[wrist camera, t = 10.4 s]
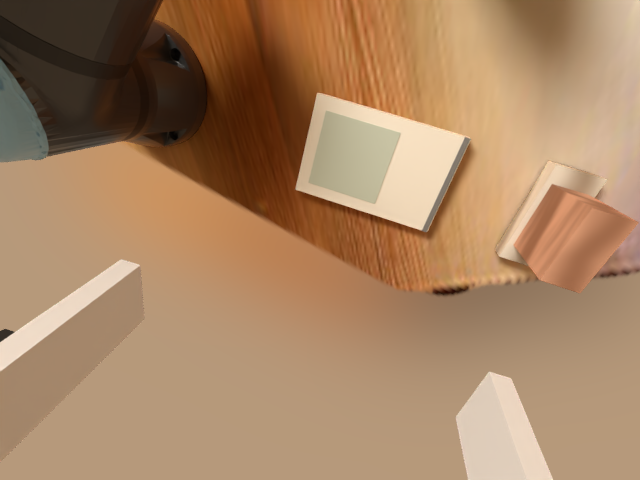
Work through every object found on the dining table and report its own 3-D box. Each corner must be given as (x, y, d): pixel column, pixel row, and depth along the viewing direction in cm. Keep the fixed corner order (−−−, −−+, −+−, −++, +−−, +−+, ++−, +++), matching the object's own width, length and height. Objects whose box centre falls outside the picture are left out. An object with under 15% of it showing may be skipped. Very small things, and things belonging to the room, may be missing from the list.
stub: (494, 249, 41) (521, 293, 32) (548, 160, 35) (599, 184, 27) (535, 262, 41) (574, 310, 32) (597, 175, 35) (664, 204, 26)
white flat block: (299, 185, 43) (295, 189, 42) (320, 92, 38) (317, 93, 36) (425, 226, 42) (427, 232, 40) (467, 136, 36) (471, 138, 35)
